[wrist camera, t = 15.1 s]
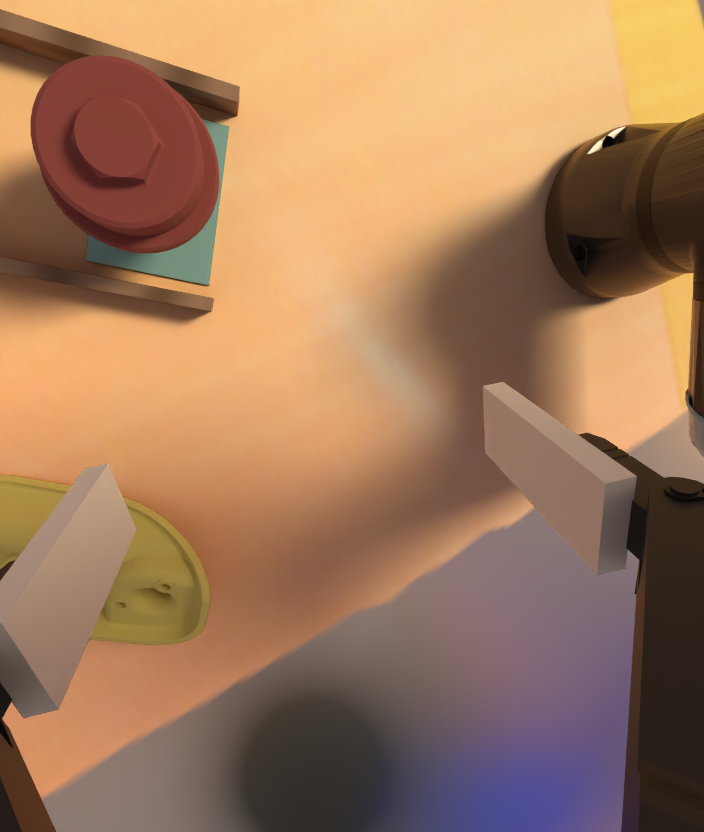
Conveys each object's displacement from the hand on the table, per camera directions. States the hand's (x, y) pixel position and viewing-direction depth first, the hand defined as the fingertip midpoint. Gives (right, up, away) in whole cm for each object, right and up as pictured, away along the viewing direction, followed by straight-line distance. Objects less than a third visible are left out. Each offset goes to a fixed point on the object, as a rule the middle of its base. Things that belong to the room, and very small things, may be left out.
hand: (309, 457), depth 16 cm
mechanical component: (-14, +18, +19) cm, 30 cm away
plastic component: (-21, -11, +24) cm, 34 cm away
